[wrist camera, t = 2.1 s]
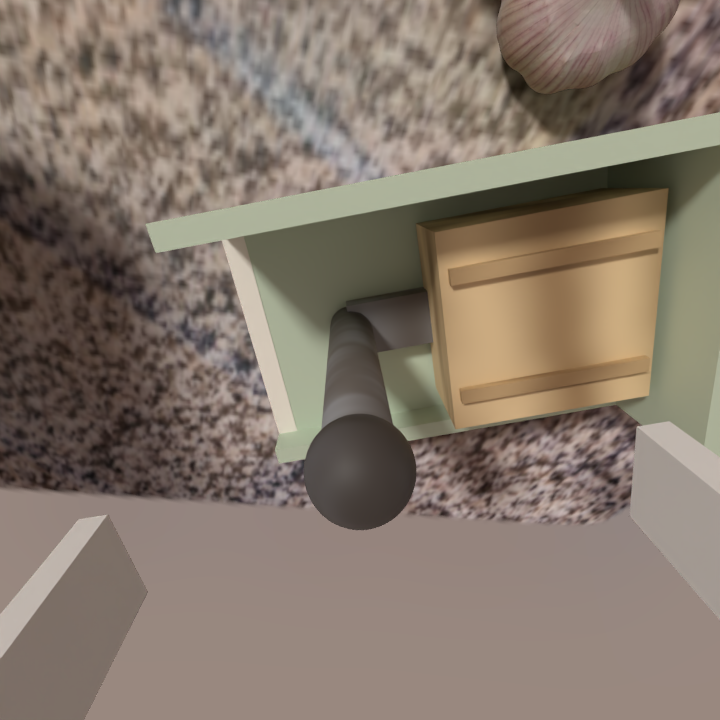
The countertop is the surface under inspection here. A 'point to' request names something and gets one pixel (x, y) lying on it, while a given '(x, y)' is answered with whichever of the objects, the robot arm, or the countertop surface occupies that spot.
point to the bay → (403, 271)
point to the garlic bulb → (577, 38)
